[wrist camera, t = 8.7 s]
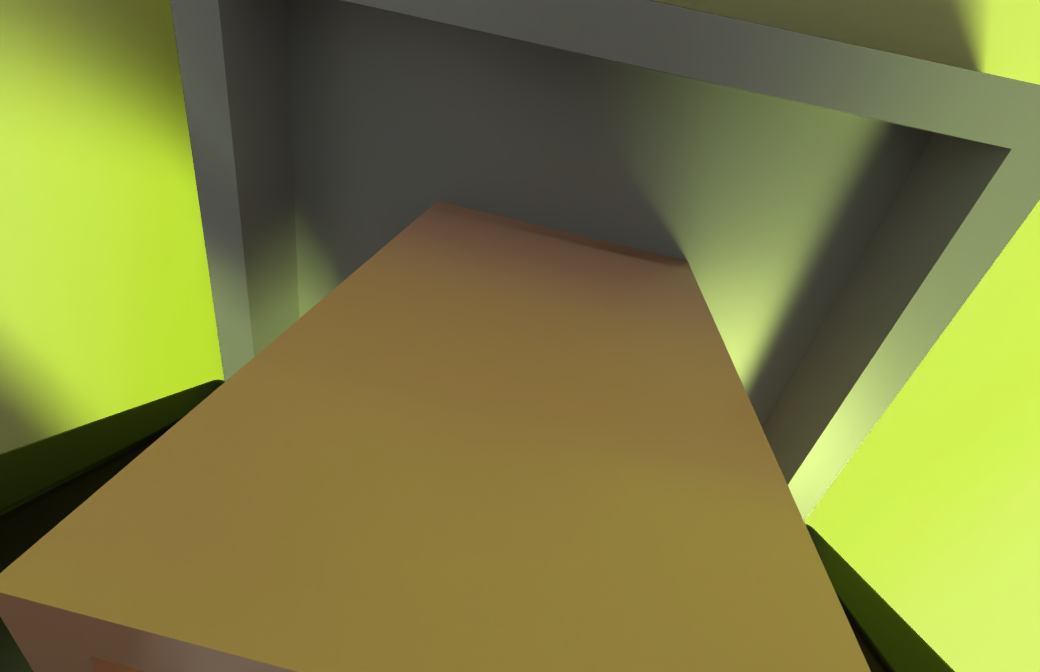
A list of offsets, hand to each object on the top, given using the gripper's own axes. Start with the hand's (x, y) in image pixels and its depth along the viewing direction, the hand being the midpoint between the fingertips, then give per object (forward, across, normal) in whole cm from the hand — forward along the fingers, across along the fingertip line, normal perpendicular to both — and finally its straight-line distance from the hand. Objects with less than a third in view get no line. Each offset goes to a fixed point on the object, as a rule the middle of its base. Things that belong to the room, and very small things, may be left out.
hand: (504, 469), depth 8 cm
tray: (+5, 0, 0) cm, 5 cm away
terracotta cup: (+4, 0, 0) cm, 4 cm away
